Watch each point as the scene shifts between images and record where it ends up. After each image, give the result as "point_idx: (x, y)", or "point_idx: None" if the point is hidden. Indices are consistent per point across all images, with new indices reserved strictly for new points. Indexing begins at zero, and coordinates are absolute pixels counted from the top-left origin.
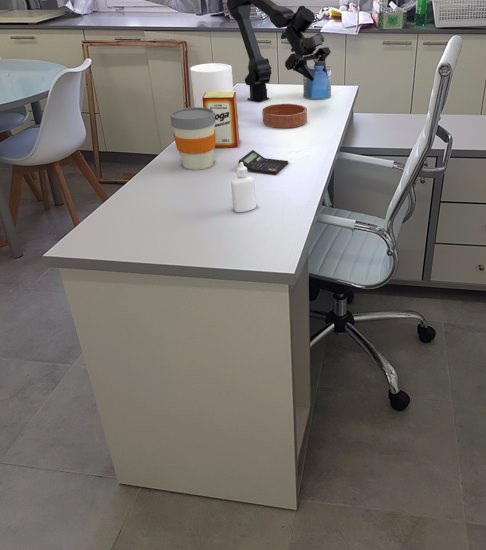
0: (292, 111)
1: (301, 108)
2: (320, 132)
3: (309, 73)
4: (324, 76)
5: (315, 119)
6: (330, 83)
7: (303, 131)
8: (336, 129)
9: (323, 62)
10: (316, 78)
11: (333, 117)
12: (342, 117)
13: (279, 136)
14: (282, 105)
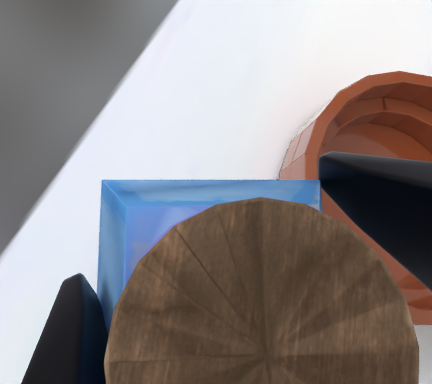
0: None
1: None
2: (268, 7)
3: (418, 164)
4: (161, 189)
5: None
6: None
7: (330, 49)
8: (190, 10)
9: (125, 298)
10: (279, 184)
11: None
12: (73, 164)
13: (427, 37)
14: (417, 308)
